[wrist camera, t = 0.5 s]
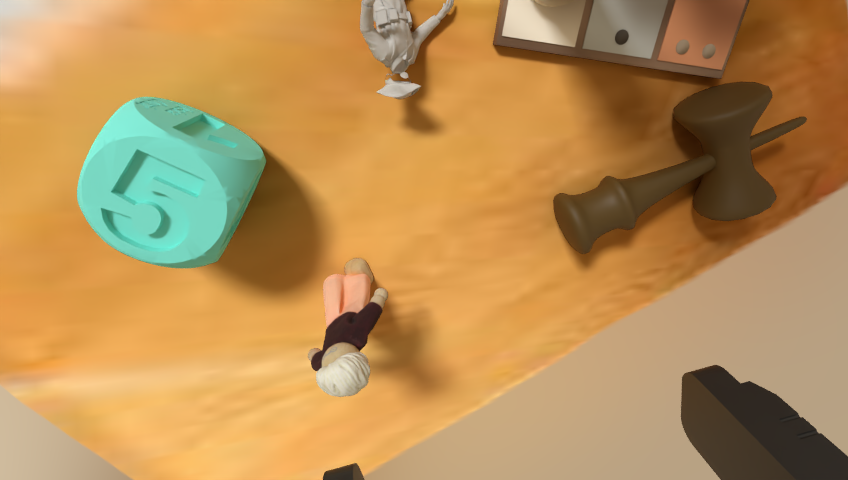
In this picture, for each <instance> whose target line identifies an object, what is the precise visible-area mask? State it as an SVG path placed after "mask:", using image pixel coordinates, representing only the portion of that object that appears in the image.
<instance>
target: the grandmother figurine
mask: <svg viewBox="0 0 848 480" xmlns="http://www.w3.org/2000/svg"><path fill="white" fill-rule="evenodd" d="M345 273H346V276H344V275H341V274H333V275H331V276H329V277H327V278H326V279H325V281H324V284H323V294H324V305H325V316H326V324H327V329H326V335H325V340H324V345H323V350H322V351H321V350H320V349H318V348H313V349H311V350H310V351H309V353H308V358H309V360H310V361H311V365H312V368H313V369H314V370H315V371H318V372H317V373H316V381H317V384H318V385H319V387H320V388H321V389H322V390H323V391H324V392H326V393H327V394H329V395H332V396H338V397H343V396H351V395H355V394H357V393H358V392H359V391H360V390H361V389H363V388H364V387H365V386H366V385H367V384H368V380H369V379H368V378H369V375H370V366H369V364H368V359H367V357H366V356H365V355H364V354H363V353H361V352H360V350H361V349H362V348H363V347H364V346H365V345H366V343H367V338H368V335H369V333H370V332H371V330H372V329H373V327H374V326H375V324H376V322H377V320H378V319H379V317H380V315H381V313H382V309H383V307H384V304H385V301H386V300H387V298H388V292H387V290H385V289H384V288H378V289H377V290H376V291H375V292H374V296H373V297H372V298H371V300H370V284H371V283H372V282H373V274H372V272H371V270H370V268H369V266H368V264H367V263H366V261H365V260H363V259H360V258H355V259H352V260H350V261H349V262H347V264H346V265H345ZM369 300H370V302H369Z"/></svg>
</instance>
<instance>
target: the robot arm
mask: <svg viewBox="0 0 848 480" xmlns="http://www.w3.org/2000/svg"><path fill="white" fill-rule="evenodd" d="M681 405H682V406H681V420H682V425H683V428H684V430H685V433H686V435H687V437H688V438H689V440H690V442H691V443H692V445H693V446H694V447H695V448H696V450H697V451H698V452H699V453H700V455H701V456H702V457H703V458H704V459H705V461H706V462H707V463H708V464H709V466H710V467H711V468H712V469H713V471H714V472H715V473H716V474H717V475H718V477H719V478H720V479H721V480H848V456H847V455H845V454H844V453H843V452H842V451H841V450H840V449H838V448H837V447H836V446H835V445H834V444H833V443H832V442H830V441H829V440H828V439H827V438H826V437H824V435H822V434H819V433H818V432H817V430H816V429H815V428H814V427H813V426H812V425H811V424H810V423H809V422H807V421H806V420H805V419H804V418H803V417H802V418H800V417H799V415H798V413H797V412H796V411H795V410H793V409H792V408H791V407H790V406H789V405H788V404H787V403H785V402H784V401H783V400H782V399H781V398H780V397H778V396H777V395H776V394H774V393H772V392H770V391H768V390H766V389H764V388H762V387H760V386H758V385H756V384H754V383H752V382H750V381H748V382H745V383H741V384H740V383H739V382H738V381H737V380H736V379H735V378H734V377H733V376H732V375H730V374H729V373H728V372H727V371H726V370H725V369H724V368H722V367H720V366H718V365H713V366H710V367H706V368H702V369H699V370H695V371H691V372H688V373H685V374H684V375H683V377H682V402H681ZM323 480H364V478H363V475H362V473H361V471H360V468H359V466H358V465H357V464H356V463H354V464H351V465H347V466H343V467H340V468H336V469H333V470H329V471H326V472H325V473H324V476H323Z"/></svg>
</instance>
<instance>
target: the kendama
mask: <svg viewBox="0 0 848 480" xmlns="http://www.w3.org/2000/svg"><path fill="white" fill-rule="evenodd" d="M771 98H772V92H771V90H770V88H769V86H765V85H762V84H759V83H756V82H736V83H728V84H723V85H719V86H715V87H711V88H708V89H705V90H703V91H700V92H698V93H695V94H693V95H692V96H690V97H688V98H686V99H684V100H683V101H682V102H680V103H679V104H678V105H677V106H676V107H675V108H674V109H673V112H674V118H675V120H676V121H677V122H678V123H680V124H681V125H682V126H683V127H685V128H686V129H687V130H688V131H690V132H691V133H692V134H693V135H694V136H695V137H697V138H698V140H699V141H700V142H701V146H702V149H703V154H704V155H703V156H700V157H698V158H695V159H692V160H689V161H686V162H683V163H681V164H678V165H674V166H671V167H668V168H665V169H662V170H659V171H655V172H652V173H648V174H645V175H641V176H637V177H633V178H628V179H616V178H614V177H611V176H606V177H605V178H604V179H603V180H602V181H601V182H600V184H599V186H598V187H597V188H595V189H593V190H591V191H588V192H586V193H582V194H578V195H567V194H564V193H559V194H558V195H556V196H555V197H554V200H553V202H554V212H555V216H556V219H557V222H558V224H559V226H560V228H561V230H562V232H563V234H564V236H565V238H566V239H567V241H568V242H569V244H570V245H571V246H572V247H573V248H574V249H575V250H576V251H578V252H579V253H582V254H585V253H588V252H589V251H590V250H591V248H592V245H593V243H594V241H595V240H596V239H597V238H598V237H600V236H601V235H603V234H605V233H606V232H609V231H611V230H613V229H617V228H621V229H625V230H630V229H633V228H634V227H635V223H636V220H637V218H638V217H639V216H640V215H641V214H642V213H643V212H644V211H645V210H646V209H648V208H649V207H650V206H652V205H653V204H655V203H656V202H658V201H659V200H661V199H663V198H664V197H666V196H667V195H669V194H670V193H672V192H674V191H675V190H677V189H679V188H680V187H682V186H684V185H685V184H687V183H689V182H691V181H692V180H694V179H696V178H698V177H699V176H701V175H703V177H702V180H701V182H700V184H699V186H698V188H697V190H696V192H695V194H694V197H693V207H694V209H695V210H696V211H697V212H698V213H699V214H700V215H701V216H704V217H707V218H709V219H712V220H721V221H732V220H739V219H745V218H748V217H751V216H754V215H757V214H759V213H761V212H763V211H764V210H766V209H768V208H770V207H771V205H772V204H773V203H774V201H775V200H776V194H775V192H774V189H773V187H772V186H771V185H770V184H769V183H768V182H767V181H766V180H765V179H764V178H763V177H762V176H761V175H760V174H759V173H758V172H757V171H756V170H755V168H754V166H753V163H752V159H751V151H750V150H753V149H755V148H757V147H759V146H761V145H763V144H765V143H767V142H769V141H771V140H773V139H775V138H777V137H779V136H781V135H783V134H786V133H788V132H790V131H791V130H793V129H795V128H797V127H799V126H801V125H802V124H804V123H805V122H806V120H807V118H806V117H799V118H795V119H793V120H790V121H787V122H785V123H782V124H780V125H777V126H775V127H772V128H770V129H768V130H765V131H763V132H760V133H758V134H755V135H753V136H751V137H750V135H751V132H752V130H753V128H754V126H755V124H756V122H757V121H758V119H759V118H760V116H761V115H762V113H763V112H764V110H765V109H766V107H767V105H768V104H769V102H770V100H771Z"/></svg>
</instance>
